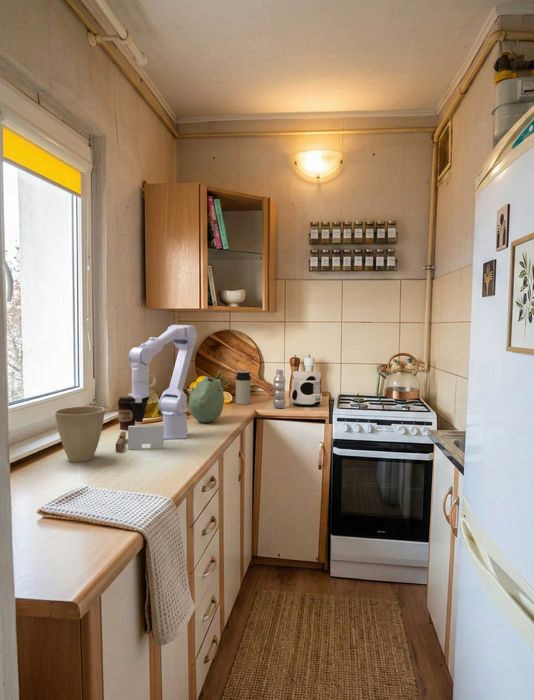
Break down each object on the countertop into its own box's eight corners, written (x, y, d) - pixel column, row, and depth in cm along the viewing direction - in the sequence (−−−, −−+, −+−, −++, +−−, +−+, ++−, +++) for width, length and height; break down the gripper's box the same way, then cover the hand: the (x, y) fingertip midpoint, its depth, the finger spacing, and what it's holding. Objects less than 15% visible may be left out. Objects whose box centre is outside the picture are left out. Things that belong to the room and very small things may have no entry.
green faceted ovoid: (182, 425, 204) (182, 379, 202) (196, 416, 222) (196, 374, 221) (217, 427, 201) (218, 380, 200) (228, 418, 220) (229, 375, 218)
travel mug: (238, 405, 255) (239, 371, 254) (233, 402, 262) (234, 370, 261) (252, 404, 258) (252, 371, 257) (247, 402, 265) (247, 370, 264)
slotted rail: (125, 439, 179) (125, 431, 179) (120, 452, 161) (120, 443, 161) (121, 439, 179) (121, 431, 178) (115, 452, 161) (115, 443, 161)
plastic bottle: (286, 407, 251) (287, 370, 250) (283, 409, 245) (283, 371, 243) (275, 406, 253) (276, 369, 252) (271, 408, 247) (271, 370, 245)
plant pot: (108, 451, 162) (108, 405, 161) (100, 465, 147) (100, 414, 146) (61, 453, 159) (61, 406, 158) (49, 466, 145) (49, 415, 144)
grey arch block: (163, 447, 169) (163, 425, 168) (163, 448, 167) (163, 426, 167) (128, 448, 166) (128, 425, 166) (128, 449, 165) (128, 426, 164)
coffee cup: (132, 431, 191) (132, 399, 190) (113, 430, 193) (113, 398, 192) (142, 426, 200) (142, 396, 199) (123, 425, 201) (123, 395, 201)
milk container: (291, 401, 270) (292, 370, 269) (322, 403, 267) (323, 371, 266) (288, 407, 253) (289, 373, 251) (321, 408, 250) (322, 374, 249)
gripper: (130, 378, 173) (130, 415, 174) (126, 384, 159) (126, 424, 160) (150, 378, 174) (150, 415, 175) (147, 384, 160) (147, 423, 161)
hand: (140, 419), depth 168 cm, fingers open, 7 cm apart
